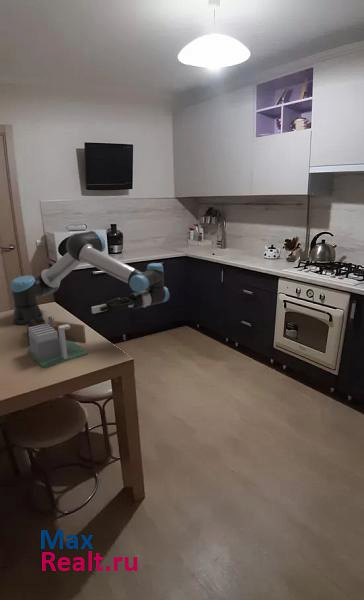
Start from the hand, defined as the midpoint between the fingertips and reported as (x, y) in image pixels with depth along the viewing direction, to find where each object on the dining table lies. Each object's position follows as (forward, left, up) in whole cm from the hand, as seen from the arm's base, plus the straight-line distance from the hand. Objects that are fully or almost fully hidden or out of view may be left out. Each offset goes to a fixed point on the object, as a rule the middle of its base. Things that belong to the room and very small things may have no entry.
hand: (92, 310), depth 152 cm
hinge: (-6, -10, -16) cm, 20 cm away
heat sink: (-5, -15, -17) cm, 24 cm away
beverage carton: (-29, -16, -18) cm, 37 cm away
